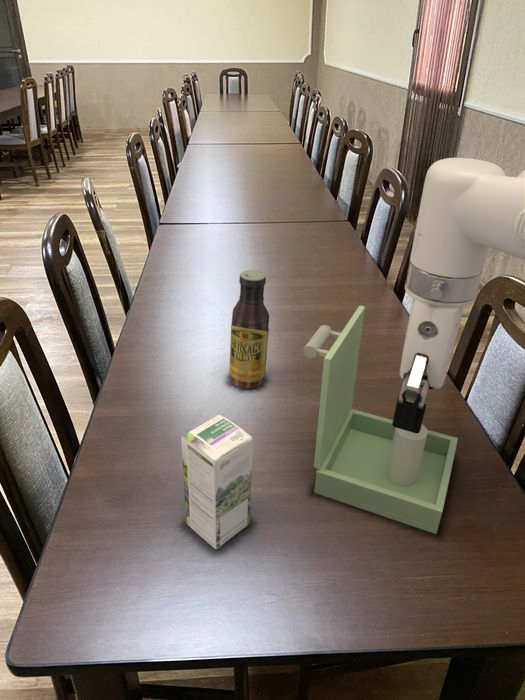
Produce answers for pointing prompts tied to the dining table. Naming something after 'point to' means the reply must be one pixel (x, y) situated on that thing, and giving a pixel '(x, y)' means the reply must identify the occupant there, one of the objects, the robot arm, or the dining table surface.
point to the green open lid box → (385, 472)
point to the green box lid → (335, 379)
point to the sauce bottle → (249, 332)
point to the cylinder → (406, 456)
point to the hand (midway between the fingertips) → (413, 406)
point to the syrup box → (217, 479)
